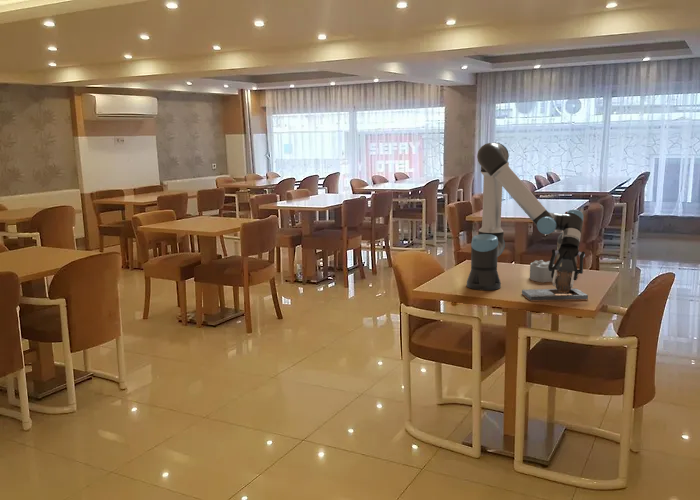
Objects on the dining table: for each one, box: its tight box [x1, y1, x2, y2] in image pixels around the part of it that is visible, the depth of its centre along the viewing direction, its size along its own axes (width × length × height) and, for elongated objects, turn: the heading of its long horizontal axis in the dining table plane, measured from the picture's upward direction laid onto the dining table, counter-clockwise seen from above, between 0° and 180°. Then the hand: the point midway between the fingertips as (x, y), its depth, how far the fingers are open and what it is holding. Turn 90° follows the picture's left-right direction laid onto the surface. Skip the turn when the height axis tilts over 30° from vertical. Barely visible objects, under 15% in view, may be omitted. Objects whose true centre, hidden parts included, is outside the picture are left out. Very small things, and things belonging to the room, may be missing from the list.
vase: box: [555, 271, 572, 292], centre depth 263 cm, size 7×7×9 cm
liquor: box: [556, 211, 578, 274], centre depth 313 cm, size 9×9×30 cm
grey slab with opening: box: [521, 288, 589, 302], centre depth 264 cm, size 24×12×2 cm, turn 92°
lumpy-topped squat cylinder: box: [529, 259, 555, 283], centre depth 297 cm, size 10×13×9 cm
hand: (562, 285), depth 260 cm, fingers closed on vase, 6 cm apart
